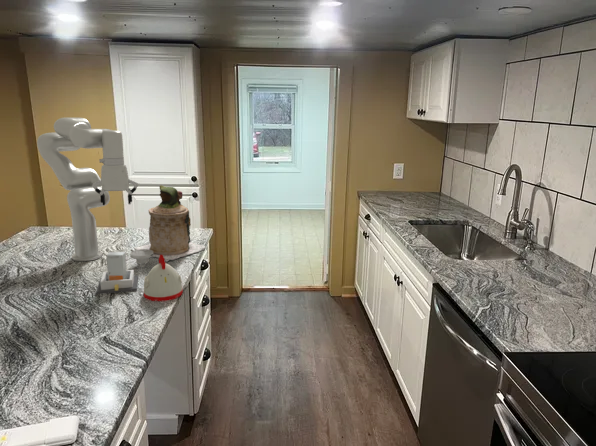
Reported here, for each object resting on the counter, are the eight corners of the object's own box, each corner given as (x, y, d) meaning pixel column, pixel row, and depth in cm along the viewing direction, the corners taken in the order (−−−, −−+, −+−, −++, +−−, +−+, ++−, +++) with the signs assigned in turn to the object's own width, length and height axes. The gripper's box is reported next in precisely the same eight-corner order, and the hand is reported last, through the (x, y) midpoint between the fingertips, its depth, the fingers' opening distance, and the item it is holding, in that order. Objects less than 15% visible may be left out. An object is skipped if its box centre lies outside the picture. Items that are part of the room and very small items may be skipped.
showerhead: (136, 246, 194) (157, 248, 192) (137, 261, 195) (158, 263, 194) (124, 252, 185) (145, 254, 183) (125, 268, 186) (146, 271, 185)
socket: (100, 279, 174) (100, 270, 173) (138, 277, 178) (137, 267, 177) (96, 294, 160) (95, 284, 159) (136, 291, 164) (136, 281, 163)
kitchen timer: (147, 304, 154) (144, 263, 151) (141, 289, 166) (138, 252, 162) (186, 297, 161) (185, 258, 157) (178, 284, 172) (176, 247, 169)
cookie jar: (168, 263, 195) (165, 192, 187) (132, 252, 208) (127, 185, 200) (207, 249, 216) (206, 185, 208) (172, 240, 228) (169, 179, 220)
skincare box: (108, 285, 167) (105, 255, 164) (111, 280, 171) (109, 251, 168) (124, 284, 167) (122, 255, 164) (127, 280, 171) (125, 251, 168)
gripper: (88, 163, 168) (92, 206, 173) (136, 163, 174) (139, 205, 178) (91, 161, 175) (95, 202, 180) (137, 160, 180) (139, 201, 185)
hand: (116, 204), depth 179 cm, fingers open, 9 cm apart
